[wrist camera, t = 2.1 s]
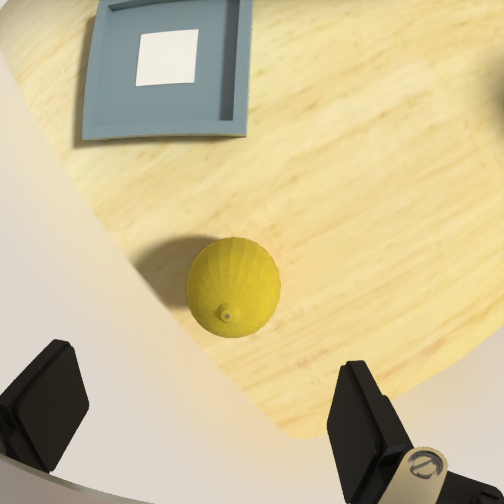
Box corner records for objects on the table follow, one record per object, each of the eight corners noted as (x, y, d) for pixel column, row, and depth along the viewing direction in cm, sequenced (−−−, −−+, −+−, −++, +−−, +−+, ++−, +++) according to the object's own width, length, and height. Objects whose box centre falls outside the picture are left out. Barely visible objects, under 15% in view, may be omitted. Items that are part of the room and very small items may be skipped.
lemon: (242, 209, 22) (234, 237, 14) (291, 269, 23) (308, 324, 15) (183, 258, 23) (149, 307, 15) (232, 313, 24) (223, 379, 16)
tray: (111, 9, 17) (99, -1, 15) (253, -4, 17) (253, -18, 15) (96, 140, 20) (81, 139, 18) (246, 136, 20) (245, 133, 18)
